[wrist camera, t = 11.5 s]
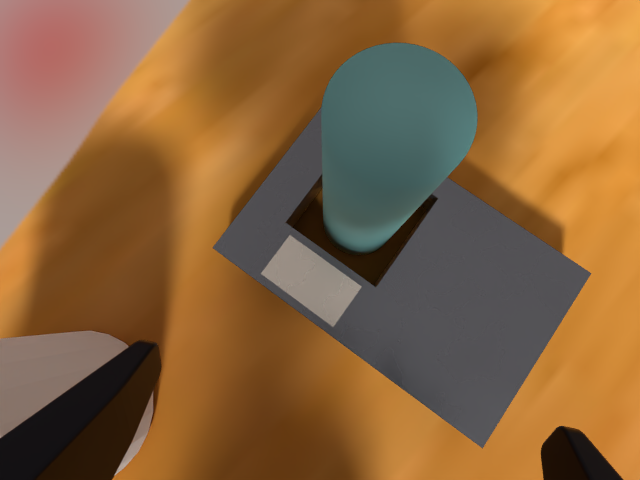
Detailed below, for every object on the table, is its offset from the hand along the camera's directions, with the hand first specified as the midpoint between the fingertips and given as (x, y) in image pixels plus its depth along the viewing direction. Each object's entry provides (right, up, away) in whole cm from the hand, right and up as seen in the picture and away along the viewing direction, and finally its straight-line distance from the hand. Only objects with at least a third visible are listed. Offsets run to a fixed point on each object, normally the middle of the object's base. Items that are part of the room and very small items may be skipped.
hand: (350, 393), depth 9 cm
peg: (+2, +5, +14) cm, 15 cm away
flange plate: (+3, +2, +14) cm, 14 cm away
